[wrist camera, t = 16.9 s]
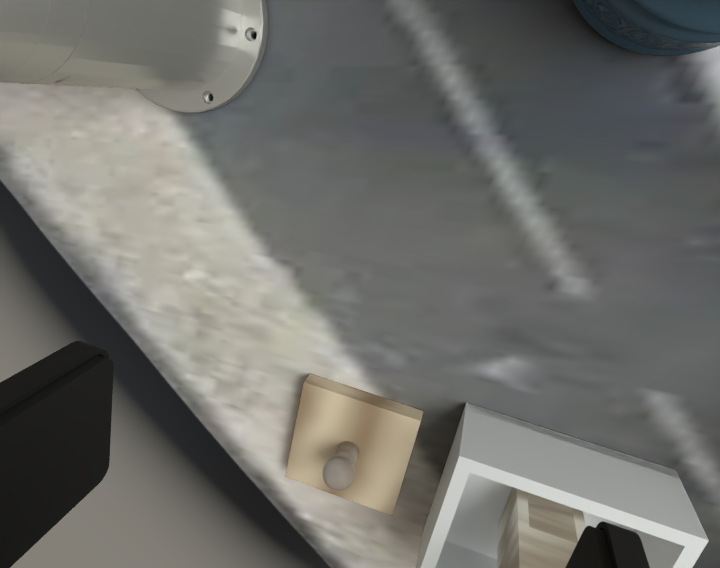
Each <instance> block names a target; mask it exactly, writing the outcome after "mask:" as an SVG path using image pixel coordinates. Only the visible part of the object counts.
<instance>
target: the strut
mask: <svg viewBox="0 0 720 568" xmlns="http://www.w3.org/2000/svg"><path fill="white" fill-rule="evenodd" d="M585 528H586V525H585V520H584V514H583V511H581V510H578V509H575V508H572V507H569V506H566V505H563V504H560V503H557V502H554V501H552V500H549V499H546V498H543V497H540V496H537V495H534V494H531V493H528V492H525V491H522V490H520V489H517V488H514V487H513V488H512V490H511V493H510V495H509V498H508V500H507V503H506V505H505V507H504V510H503V512H502V515H501V517H500V520H499V522H498V537H497V568H565V567H566V565H567V563H568V561H569V559H570V557H571V555H572V553H573V551H574V549H575V547H576V545H577V543H578V541H579V539H580V537H581V535H582V533H583V531H584V529H585Z"/></svg>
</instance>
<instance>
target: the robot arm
mask: <svg viewBox="0 0 720 568" xmlns="http://www.w3.org/2000/svg"><path fill="white" fill-rule="evenodd" d="M255 32H257V37H256V39H254V33H255ZM267 34H268V13H267V6H266V0H0V82H6V83H22V84H45V85H69V86H93V87H117V88H136V89H137V90H138V91H139V92H140V93H141V94H143V95H144V96H145V97H146V98H148V99H149V100H151V101H153V102H154V103H156V104H157V105H159V106H162V107H165V108H167V109H170V110H173V111H179V112H186V113H197V112H205V111H210V110H215V109H217V108H219V107H221V106H224V105H226V104H228V103H229V102H231V101H232V100H233V99H235V98H236V97H237V96H239V95H240V94H241V93H242V92H243V90H244V89H245V88H246V87H247V86H248V85H249V84H250V82H251V80H252V79H253V77H254V75H255V74H256V72H257V70H258V68H259V66H260V63H261V60H262V57H263V54H264V51H265V46H266V40H267ZM212 95H213V100H212V98H211V96H212ZM112 389H113V362H112V360H110V359H109V355H108V353H107V351H106V350H104V349H102V348H99V347H96V346H93V345H90V344H87V343H84V342H81V341H76V342H73V343H71V344H69V345H67V346H65V347H63V348H62V349H60V350H58V351H56V352H54V353H53V354H51V355H49V356H47V357H46V358H44V359H42V360H40V361H38V362H37V363H35V364H33V365H32V366H30V367H28V368H26V369H24V370H22V371H20V372H19V373H17V374H15V375H13V376H12V377H10V378H8V379H6V380H4V381H2V382H1V383H0V568H10V567H11V566H12V565H13V564H14V563H15V562H16V561H17V560H18V559H19V558H21V557H22V556H23V555H24V554H25V553H26V552H27V551H28V550H29V549H30V548H31V547H32V546H33V545H34V544H35V543H36V542H38V541H39V540H40V539H41V538H42V537H43V536H44V535H45V534H46V533H47V532H48V531H49V530H50V529H51V528H52V527H53V526H54V525H56V524H57V523H58V522H59V521H60V520H61V519H62V518H63V517H64V516H65V515H66V514H67V513H68V512H69V511H70V510H71V509H72V508H74V507H75V506H76V505H77V504H78V503H79V502H80V501H81V500H82V499H83V498H84V497H85V496H86V495H87V494H88V493H89V492H90V491H91V490H93V489H94V488H95V487H96V486H97V485H98V484H99V483H100V482H101V481H102V479H103V478H104V476H105V474H106V472H107V470H108V467H109V456H110V434H111V433H110V432H111V411H112ZM565 568H650V567H649V563H648V560H647V557H646V554H645V551H644V548H643V544H642V541H641V539H640V537H639V535H638V534H637V533H636V532H633V531H630V530H627V529H624V528H621V527H618V526H616V525H613V524H610V523H607V522H604V521H603V522H600V523H599V524H598V525H597V526H596V528H595V527H592V526H587V527H586V528H585V529H584V531H583V533H582V535H581V537H580V539H579V541H578V543H577V545H576V547H575V549H574V551H573V553H572V555H571V557H570V559H569V561H568V563H567V565H566V567H565Z"/></svg>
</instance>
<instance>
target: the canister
mask: <svg viewBox="0 0 720 568" xmlns="http://www.w3.org/2000/svg"><path fill="white" fill-rule="evenodd" d="M573 2H574V3H575V5H576V7H577V9H578V10H579V12H580V13H581V15H582V16H583V18H584V19H585V20H586V21H587V22H588V24H589V25H590V26H591V27H592V28H593V29H594V30H595V31H597V32H598V33H599V34H600V35H601V36H603V37H604V38H606V39H607V40H609V41H610V42H612V43H614V44H616V45H618V46H620V47H622V48H625V49H628V50H631V51H634V52H638V53H642V54H648V55H656V56H675V55H684V54H691V53H695V52H700V51H704V50H708V49H711V48H715V47H717V46H720V0H573Z"/></svg>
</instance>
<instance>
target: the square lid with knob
mask: <svg viewBox="0 0 720 568" xmlns="http://www.w3.org/2000/svg"><path fill="white" fill-rule="evenodd" d="M422 415H423V411H422V410H419V409H415V408H412V407H409V406H406V405H403V404H400V403H397V402H394V401H391V400H388V399H385V398H382V397H379V396H376V395H373V394H370V393H367V392H364V391H361V390H358V389H355V388H352V387H349V386H346V385H343V384H340V383H337V382H333V381H330V380H327V379H324V378H321V377H318V376H315V375H312V374H309V376H308V377H307V379H306V380H305V381H304V384H303V389H302V394H301V399H300V404H299V409H298V414H297V419H296V424H295V429H294V434H293V439H292V444H291V449H290V454H289V459H288V464H287V470H286V475H285V477H288V478H291V479H293V480H296V481H299V482H301V483H304V484H307V485H310V486H312V487H315V488H318V489H321V490H323V491H326V492H329V493H332V494H334V495H337V496H340V497H342V498H345V499H348V500H351V501H353V502H356V503H359V504H362V505H364V506H367V507H370V508H372V509H375V510H378V511H381V512H383V513H386V514H389V515H393V512H394V508H395V505H396V502H397V498H398V495H399V492H400V489H401V485H402V482H403V479H404V475H405V472H406V469H407V466H408V462H409V459H410V456H411V452H412V449H413V446H414V442H415V439H416V436H417V433H418V429H419V426H420V423H421V419H422Z"/></svg>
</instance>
